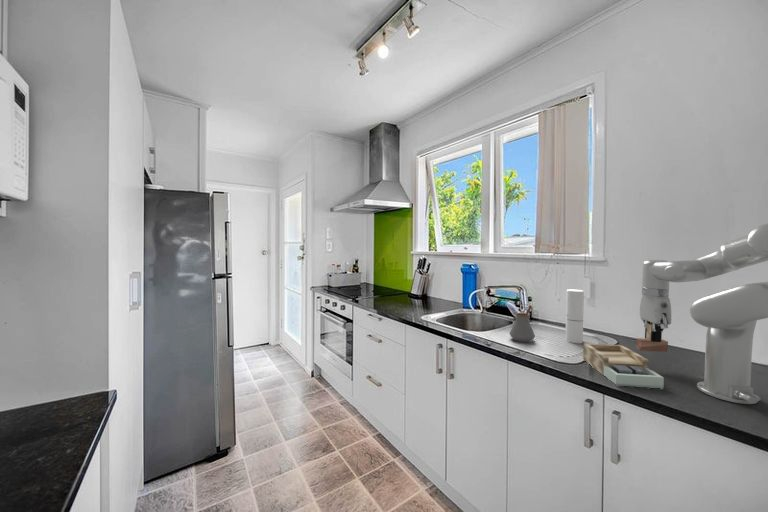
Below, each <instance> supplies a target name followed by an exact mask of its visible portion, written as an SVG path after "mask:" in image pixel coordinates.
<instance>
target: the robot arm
mask: <svg viewBox="0 0 768 512" xmlns="http://www.w3.org/2000/svg"><path fill="white" fill-rule="evenodd" d="M767 261H768V223H764V224H761V225H759V226H757V227H754V228H753V230H752V231H750V232H749V234H747V235H745V236H741V237H738V238H735V239H733V240H730V241H726V242H724V243H722V244H721V245H720V247H719V250H716V251H714V252H712V253H710V254H707V255H704V256H701V257H698V258H695V259H691V260H673V261H672V260H671V261H668V260H662V259H647V260H645V261H644V262H643V263H642V281H641V282H642V283H641V285H642V286H641V299H640V306H639V317H640V320H641V321H642V322H643V324H644V325H643V326H644V339H646V332H647V323H648V324H653V327H652V330H653V331H651V341H652V342H661V339H662V336H663V335H662V333H663V332H664V330H666V329H669V326H670V325H671V324H672V303H671V300H670V299H671V298H669V296H670V295H669V294H670V283H689V282H698V281H703V280H706V279H711V278H715V277H718V276H723V275H726V274H728V273H730V272H734V271H738V270H741V269H744V268H747V267H750V266H754V265H758V264H761V263H765V262H767ZM689 308H690V309H689V314H690V317H691V318H692V320H693V321H694V322H696V323H697V324H699V325H701V326H702V327H706V328H707V330H706V337H705V353H704V354H705V356H704V377H703V378H704V380H703V381H699V382H697V383H696V387H697V389H698V390H699V391H701V392H702V393H704V394H706V395H709V396H711V397H713V398H717V399H718V400H719V399H720V400H723V401H726V402H729V403H734V404H741V405H756V404H757V403H759V402H760V401H761V400H762V399H761V396H758V395H757V394H754V388H753V387H751V377H752V356H753V355H752V354H753V342H754V341H753V339H754V334H755V330H756V329H755V328H756V325H757V323H758V322H757V321H760V320H765V319H768V281H763V282H761V281H760V282H754V283H748V284H743V285H740V286H736V287H731V288H729V289H725V290H723V291H720V292H716V293H713V294H709V295H706V296H704V297H701V298H699V299H697V300H695V301H693V303H692V304H691V307H689ZM656 325H659V326H657V327H656Z"/></svg>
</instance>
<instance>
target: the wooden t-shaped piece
mask: <svg viewBox="0 0 768 512" xmlns="http://www.w3.org/2000/svg"><path fill="white" fill-rule="evenodd" d="M657 326H659V325H656V327H657ZM652 327H653V324H648V323H647V332H646V338H639V337H638V338H636V345H635V346H636V349H637V350H639V351H641V352H657V353H658V352H661V353H668V351H669V350H668V349H669V348H668V346H669V341H668V340H665V339H664V338H663V339H662V338H661V342H652V341H651V331H653V330H652Z"/></svg>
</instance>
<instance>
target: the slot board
mask: <svg viewBox="0 0 768 512" xmlns="http://www.w3.org/2000/svg"><path fill="white" fill-rule="evenodd" d="M582 353H583V356H582V360H583V359H584V360H585V361H586V362H587V364H588V365H589V364H590V365H591V366H592V367H591V366H590V365H589V366H590V367H591V368H593V369H594V368H595V369H596V370H597V371H599V372H600V373H601V374H603V375H604V366H609V367H610V368H611V369H612V365H623V366H626V367H628V368H629V366H641V367H643V368H649V359H648V358H646V357H644V356H643V355H640V354H638V353H637V352H636V351H633V350H631V349H630V348H628V347H626V346H624V345H622V344H606V343H605V344H604V343H584V342H583V352H582ZM584 360H583V361H584ZM585 361H584V362H585ZM586 362H585V363H586ZM595 369H594V370H595ZM596 370H595V371H596ZM597 371H596V372H597ZM599 372H598V373H599ZM600 373H599V374H600ZM601 374H600V375H601Z"/></svg>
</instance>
